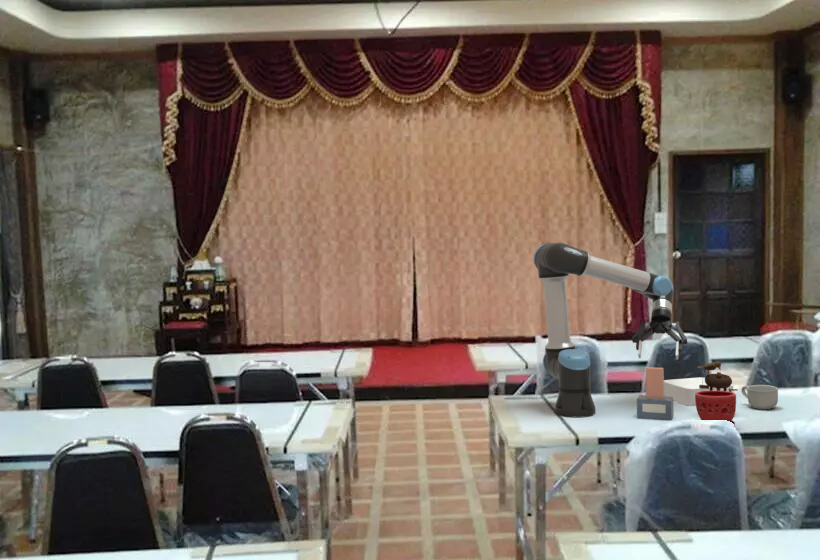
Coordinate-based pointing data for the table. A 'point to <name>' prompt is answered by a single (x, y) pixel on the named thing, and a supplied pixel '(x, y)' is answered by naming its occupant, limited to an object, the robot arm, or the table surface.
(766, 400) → the teacup
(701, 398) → the plant pot
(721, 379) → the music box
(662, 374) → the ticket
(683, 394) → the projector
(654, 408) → the block
